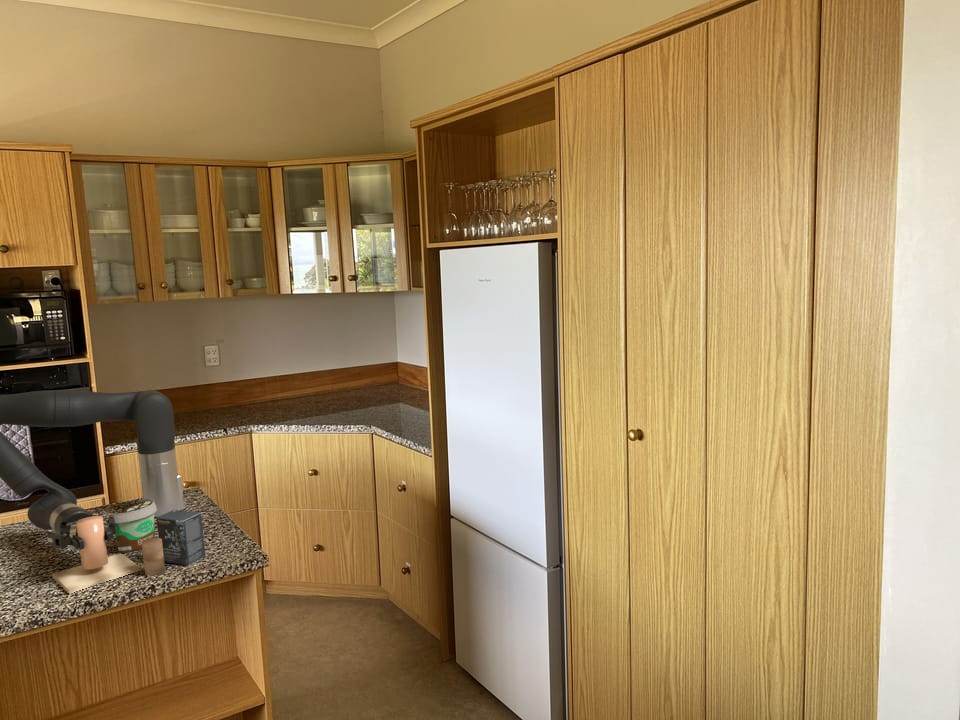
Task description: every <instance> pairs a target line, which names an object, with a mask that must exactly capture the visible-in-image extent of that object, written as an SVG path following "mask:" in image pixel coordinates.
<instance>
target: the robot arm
mask: <svg viewBox="0 0 960 720" xmlns="http://www.w3.org/2000/svg"><path fill="white" fill-rule="evenodd" d="M107 421H109V422H110V421H121V422H122V421H123V422H124V421H125V422H126V421H127V422H135V426H136V427H135V428H136V435H137V442H136V449H137V459H138V466H139V467H138V468H139V475H140V483H141V492H142V499H143V498H149V499H152V500H153V502H154V503H155V505H156V508H157V510H156V512H155V513H154V518H157V517H159V516H161V515H163V514H165V513H168V512H170V511H172V510H174V509H175V510H180V511H183V510H185V502H184V492H183V482H182V481H183V480H182V476H181V475H180V474H178V472H179V470H178V462H177V453H176V443H175V440H176V430H175V416H174V410H173V404H172V402H171V400H170V399H169V398H168V396H166V395H165V394H163V393H162V392H159V391H158V390H157V391H156V390H151V389H149V390H137V391H129V392H127V391H126V392H100V391H92V390H91V391H89V390H85V391H84V390H72V389H71V390H70V389H67V390H63V389H62V390H61V389H55V390H54V389H53V390H52V389H51V390H37V391H35V390H34V391H29V392H20V393H12V394H0V425H8V426H9V425H13V426H23V427H38V428H39V427H43V428H45V427H46V428H47V427H48V428H58V427H59V428H64V427H80V426H81V427H82V426H86V425H92V424H96V423H102V422H107ZM0 479H1V480H2V482H3V483H5V485H7V486H8V488H10V489H11V490H12V491H13V492H14V494H16V495H17V496H18V497H20V498H21V497H22V498H23V497H26V496H28V495H30V494H32V493H34V492H36V491H39V490H46V491H47V493H45V494H44V495H42V497H41V498H39V499H38V500H36V501H35V502H34V503H32V504H31V505H30V506H29V508H28V509H27V518H28V520H29V521H30V523H31V524H32V525H34V526H35V527H37V528H39V529H41V530H46V531H47V530H48V531H50V532H47V533H46V536H47V545H48V546H52V547H54V548H57V549H61V550H63V549H67V547H68V546H70V548H72V547H73V548H74V549H78V550H79V551H80V550H81V549H84V544H83V539H82V538H81V537H78V532H77V524H76V522H77V521H78V520H80V519H83V518H86V517H91V516H94V515H93V514H92V513H91V512H89V511H88V510H87V509H85V508H83V507H82V506H81V505H78V499H77V496H76V495H75V494H74V493H73V492H72V491H71V490H69V489H67V488H66V487H63V486H61V485H60V484H58V483H56V482H55V481H54V480H52V479H50V478H48V476H46V475H45V474H44V473H43V472H42V471H41V470H40V469H39V468H38V467H37V466H36V465H35V464H34V463H33V461H31V460H30V459H29V457H27V456H26V455H25V454H24V453H23V452H22V451H21V450H20V449H19V448H18V447H17V446H15V445H14V443H12V442H11V441H10V440H9V439H8V438H7V437H6V436H5V434H3V432H2V431H0ZM103 524H104V532H105V540H106V543H110V542H112V541H113V539H114V536H115V534H116V533H117V532H116V526H115V525H116V524H115V519H114V517H113V516H111V515H110V516H109V517H107V518H106V520H103ZM51 530H52V531H51Z"/></svg>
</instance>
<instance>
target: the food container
mask: <svg viewBox="0 0 960 720" xmlns="http://www.w3.org/2000/svg"><path fill="white" fill-rule="evenodd" d="M156 510H157V508H156V505H155V503H154V502H153V500H152V499H149V498H143V497H142V502H140V503H138V504H136V505H133V506H129V507H127V508H126V509H125V510H123V511H122V512H121V513H111V514H110V517H111V516H113V517H114V519H115V524H116V525H115V526H116V532H117V533H116V534H115V535H114V537H115V541H116V546H117V551H118V554H119V553H126V554H128V553H127V552H133V553H135V552H134V551H138V552H140V551H139V550H141V551H142V544H141V543H142V542H143V541H145V540H147V539H151V538H156V537H155V536H156V535H155V517H154V513H155V512H156Z"/></svg>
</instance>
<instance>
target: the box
mask: <svg viewBox="0 0 960 720" xmlns="http://www.w3.org/2000/svg"><path fill="white" fill-rule="evenodd" d="M202 520H203V517H202V512H198V511H188V510H175V509H174V510H172V511H170V512H168V513H165V514H163V515H161V516H159V517H156V524H157V533H158V534H157V535H158V538H161V539H162V546H163V554H164V563H170V564H175V565H177V564H178V565H181V566H182V565H184V566H187V567H189V566H191V565H192V564H194V563H196V562H198V561H200V560H202V559H203V558H205V557H206V549H205V540H204V539H205V538H204V529H203V528H204V526H203V521H202Z"/></svg>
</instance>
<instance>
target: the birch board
mask: <svg viewBox="0 0 960 720" xmlns="http://www.w3.org/2000/svg"><path fill="white" fill-rule="evenodd" d="M138 571H140V572H141V567H140V565H138V564H137V563H135V562H134V561H132V560H131V559H130V558H128V557H127V556H126V555H125V554H121V553H120V554H119V553H116V554H114V555H110V556H108V563H107V564H106V565H104V566H102V567H99V568H96V569H83V568H82V564H80V565H77V566H73V567H70V568H67V569H64V570H61V571H56V572H54V573H52V579H53V580H54V581H55V582H56V583H57V584H58V585H59V586H60V587H61V588H62V587H63V588H62V589H63V590H64V591H65V592H66V591H67V592H66V593H67V594H68V593H69V594H68V595H72V594H75V593H77V592H76V591H78V592H80V591H79V590H81V591H83V590H82V589H84V590H86V589H85V588H87V589H89V588H88V587H90V586H93V585H96V584H99V583H103V582H106V581H109V580H112V579H116V578H119V577H122V578H124V577H123V576H125V575H128V574H131V573H134V572H137V573H139V572H138ZM134 574H135V573H134ZM131 575H132V574H131ZM128 576H129V575H128ZM125 577H126V576H125ZM119 579H120V578H119ZM116 580H117V579H116ZM112 581H113V580H112ZM109 582H110V581H109ZM106 583H107V582H106ZM103 584H104V583H103ZM74 592H75V593H74ZM71 593H72V594H71Z"/></svg>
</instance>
